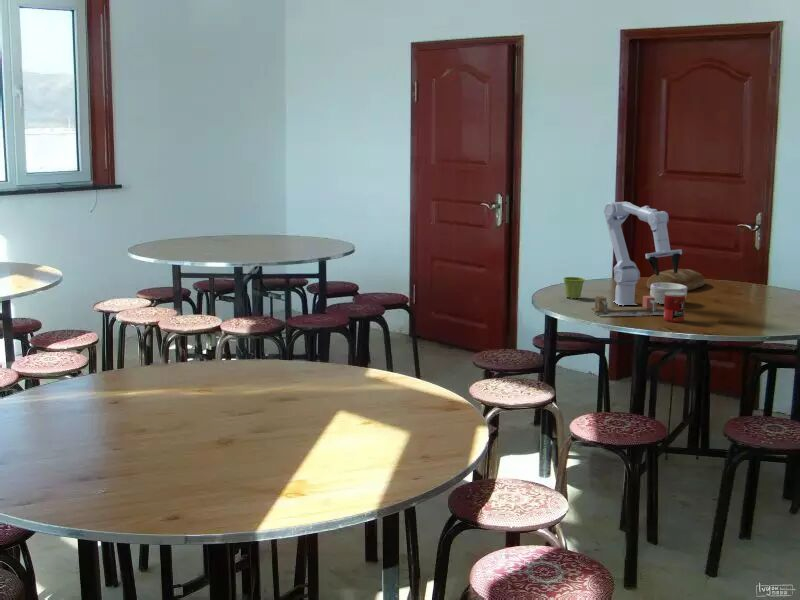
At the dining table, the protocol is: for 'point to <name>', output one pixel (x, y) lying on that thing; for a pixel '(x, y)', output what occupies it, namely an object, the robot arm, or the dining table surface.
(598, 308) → the gauge beam
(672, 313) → the canned food
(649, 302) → the sliding leg
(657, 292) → the paper bowls
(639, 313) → the hole plate
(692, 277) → the bread
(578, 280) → the plant pot
